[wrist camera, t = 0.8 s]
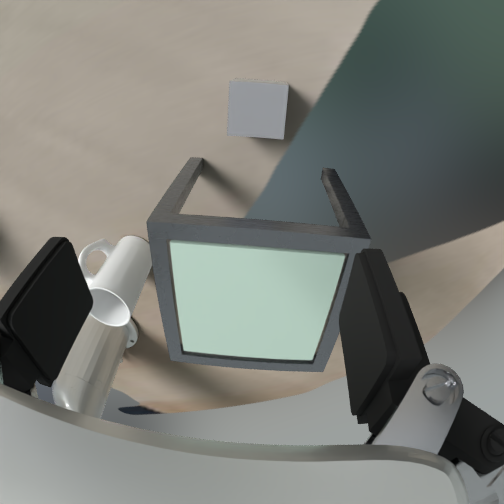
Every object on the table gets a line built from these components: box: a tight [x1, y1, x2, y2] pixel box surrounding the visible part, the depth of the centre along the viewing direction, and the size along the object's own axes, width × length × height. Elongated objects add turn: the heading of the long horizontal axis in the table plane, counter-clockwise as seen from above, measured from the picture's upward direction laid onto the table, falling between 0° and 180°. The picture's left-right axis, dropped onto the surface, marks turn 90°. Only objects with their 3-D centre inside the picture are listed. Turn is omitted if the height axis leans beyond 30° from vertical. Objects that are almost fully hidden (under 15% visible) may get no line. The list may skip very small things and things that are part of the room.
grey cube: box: [227, 78, 289, 139], centre depth 30 cm, size 6×6×6 cm
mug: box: [78, 236, 152, 326], centre depth 40 cm, size 10×7×12 cm, turn 39°
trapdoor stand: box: [147, 158, 371, 372], centre depth 35 cm, size 18×18×16 cm
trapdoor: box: [170, 240, 345, 360], centre depth 29 cm, size 14×14×1 cm
